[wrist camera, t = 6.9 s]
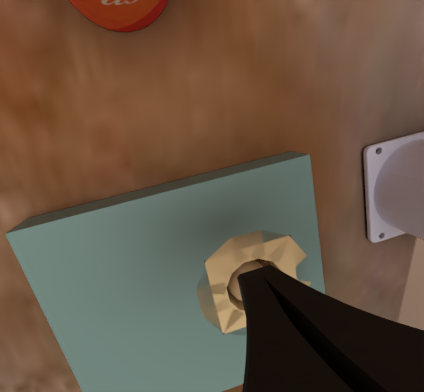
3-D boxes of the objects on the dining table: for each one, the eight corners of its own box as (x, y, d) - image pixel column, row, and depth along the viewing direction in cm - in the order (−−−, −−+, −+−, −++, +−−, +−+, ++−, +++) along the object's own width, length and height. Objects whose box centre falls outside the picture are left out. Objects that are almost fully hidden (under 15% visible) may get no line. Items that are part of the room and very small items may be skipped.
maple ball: (272, 276, 17) (236, 306, 17) (281, 288, 19) (249, 315, 19) (245, 244, 19) (212, 270, 19) (256, 258, 21) (227, 282, 21)
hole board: (291, 151, 19) (309, 154, 16) (314, 328, 23) (331, 351, 21) (27, 218, 17) (4, 233, 14) (109, 399, 21) (103, 434, 19)
